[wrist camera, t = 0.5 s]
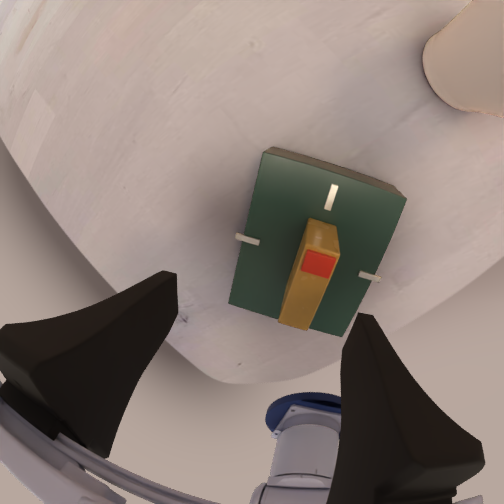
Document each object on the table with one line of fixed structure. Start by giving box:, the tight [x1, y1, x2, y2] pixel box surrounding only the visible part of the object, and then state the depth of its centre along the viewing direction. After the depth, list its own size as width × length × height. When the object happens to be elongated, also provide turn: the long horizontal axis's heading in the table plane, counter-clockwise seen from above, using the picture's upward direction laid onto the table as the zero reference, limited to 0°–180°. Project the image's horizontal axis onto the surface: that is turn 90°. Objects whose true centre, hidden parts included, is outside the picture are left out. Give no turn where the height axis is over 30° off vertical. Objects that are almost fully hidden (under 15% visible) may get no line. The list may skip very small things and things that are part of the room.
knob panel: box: [228, 147, 407, 337], centre depth 18 cm, size 10×9×3 cm
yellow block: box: [278, 218, 340, 331], centre depth 15 cm, size 5×2×4 cm, turn 167°
